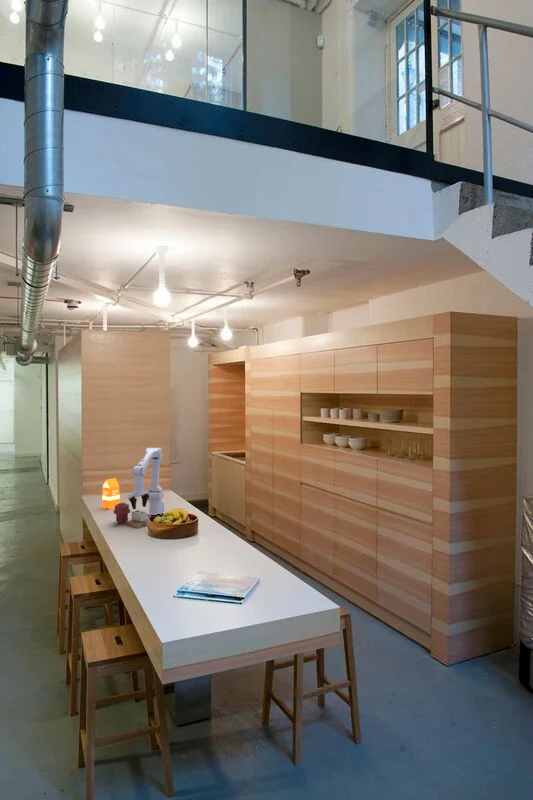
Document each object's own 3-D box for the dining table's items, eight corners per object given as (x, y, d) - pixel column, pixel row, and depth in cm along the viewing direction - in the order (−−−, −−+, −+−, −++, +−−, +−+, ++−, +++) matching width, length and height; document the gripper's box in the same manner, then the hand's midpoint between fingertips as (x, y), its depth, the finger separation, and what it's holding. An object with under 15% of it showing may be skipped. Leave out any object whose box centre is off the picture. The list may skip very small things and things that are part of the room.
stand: (140, 521, 328) (140, 517, 328) (152, 524, 322) (152, 520, 321) (126, 525, 320) (126, 521, 319) (137, 528, 313) (137, 524, 313)
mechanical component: (117, 520, 330) (132, 521, 329) (111, 525, 320) (126, 525, 319) (117, 501, 329) (132, 501, 328) (110, 505, 319) (126, 505, 318)
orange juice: (119, 506, 366) (119, 478, 365) (109, 509, 358) (109, 480, 357) (112, 505, 370) (111, 477, 369) (102, 507, 362) (101, 479, 362)
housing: (146, 521, 320) (146, 511, 320) (140, 522, 316) (140, 513, 316) (137, 518, 325) (137, 509, 324) (132, 520, 321) (131, 511, 321)
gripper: (144, 483, 328) (144, 504, 328) (125, 486, 316) (125, 509, 317) (151, 484, 324) (151, 506, 324) (132, 488, 312) (132, 511, 313)
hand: (139, 507), depth 320 cm, fingers open, 7 cm apart
